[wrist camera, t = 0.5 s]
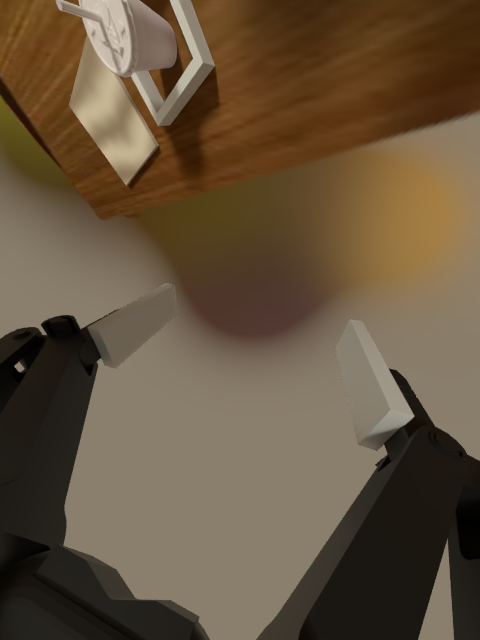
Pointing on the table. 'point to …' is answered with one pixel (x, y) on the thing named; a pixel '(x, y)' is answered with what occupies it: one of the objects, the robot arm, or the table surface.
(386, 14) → the table surface
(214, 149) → the table surface
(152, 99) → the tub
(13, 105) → the table surface
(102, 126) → the board
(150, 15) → the smoothie
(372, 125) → the table surface
